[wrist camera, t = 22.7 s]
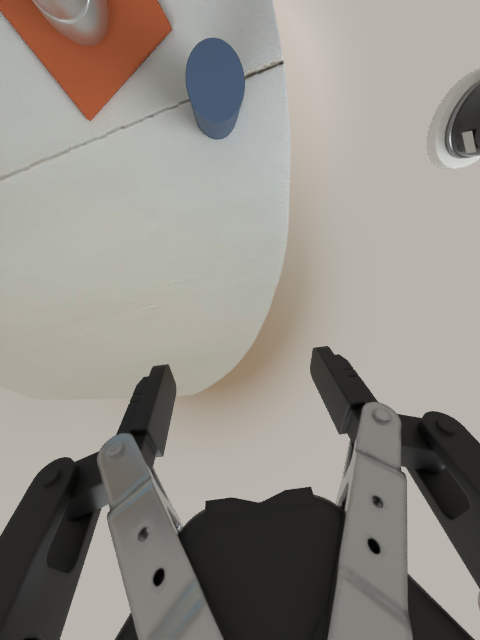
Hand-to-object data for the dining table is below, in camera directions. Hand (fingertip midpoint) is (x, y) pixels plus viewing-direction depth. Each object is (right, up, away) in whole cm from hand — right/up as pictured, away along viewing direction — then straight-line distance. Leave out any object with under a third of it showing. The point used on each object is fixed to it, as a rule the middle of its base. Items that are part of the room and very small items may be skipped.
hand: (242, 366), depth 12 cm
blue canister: (-3, +30, +16) cm, 34 cm away
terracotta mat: (-17, +36, +11) cm, 41 cm away
